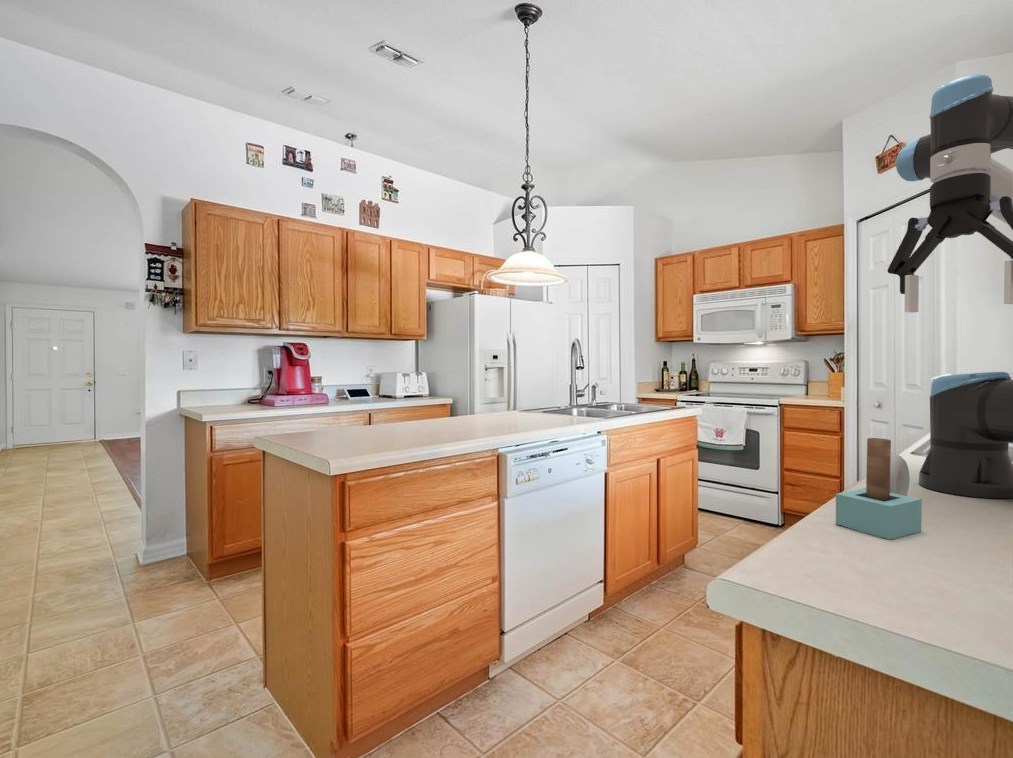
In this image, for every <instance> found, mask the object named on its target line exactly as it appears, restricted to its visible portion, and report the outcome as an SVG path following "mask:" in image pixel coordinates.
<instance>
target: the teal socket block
mask: <svg viewBox="0 0 1013 758" xmlns="http://www.w3.org/2000/svg"><path fill="white" fill-rule="evenodd" d="M922 506H923V505H922V499H921V498H917V497H914V496H913V497H912V496H908V495H907V496H903V495H898V494H894V493H890V501H885V502H883V501H879V500H874V499H870V498H866V487H865V488H859V489H855V490H854V489H853V490H848V491H844V492H839V493H835V525H836V524H838V525H837V526H839V525H842V526H841V527H843V526H845V527H844V528H846V527H848V528H847V529H850V528H852V529H851V530H853V529H855V530H854V531H857V530H858V532H860V531H862V532H861V533H864V532H865V533H864V534H867V533H869V534H868V535H871V534H872V535H871V536H874V537H879V538H882V537H883V538H882V539H885V538H886V540H889V541H891V540H894V539H899V538H902V536H903V537H906V536H909V534H910V535H914V534H917V533H921V532H922ZM913 533H914V534H913ZM898 537H899V538H898Z"/></svg>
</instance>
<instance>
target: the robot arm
mask: <svg viewBox="0 0 1013 758" xmlns="http://www.w3.org/2000/svg"><path fill="white" fill-rule="evenodd" d="M992 81H993V80H992V79H991V77H990V76H989V75H987V74H981V73H980V74H979V73H978V74H971V75H967V76H962V77H958V78H956V79H953V80H951V81H949V82H947V83H946V84H943V85H941V86H940V87H939V88H937V89H936V90H935V92H934V93H933V95H932V97H931V105H930V106H931V107H930V114H929V120H930V133H929V134H928V135H924V136H921V137H920V138H918V139H916V140H914V141H912V142H910V143H908V144H906V145H905V146H904V147H903V148H901V150H900V151H899V152H898V154H897V157H896V160H895V168H896V171H897V174H898V175H899V177H900V179H903V180H904V181H906V182H917V181H923V180H925V179H929V181H930V183H932V184H931V186H929V207H930V211H929V215H928V216H927V217H911V218H909V219H908V221H907V229H906V232H905V235H904V236H903V238H902V241H901V242H900V244H899V246H898V248H897V250H896V252H895V254H894V256H893V258H892V260H891V262H890V264H889V266H888V269H887V270H886V271H887V274H891V275H897V276H899V293H900V294H901V295H904V313H919V298H920V297H919V285H920V284H919V282H920V281H919V280H920V279H919V277H920V276H919V275H918V274H915V273H916V272H917V270H918V269H919V268H920V267H921V266H922V264H924V262H925V261H926V260H927V259H928V258H929V256H930V255H931V254H932V253H933V252H934V250H935V249H937V247H938V246H939V244H941V243H943V242H944V241H945V240H946V238H947V239H955V238H958V237H960V236H971V235H974V234H975V233H979V234H980V235H981V236H983V237H984V238H985V239H987V240H988V241H989V242H991V243H992V245H995V247H997V248H998V249H1000V250H1001V251H1003V253H1005V254H1006V255H1007V256H1009V257H1010V259H1011V260H1005V261H1004V279H1003V281H1004V283H1003V285H1004V286H1003V287H1004V288H1003V293H1004V294H1003V304H1005V305H1013V240H1011V238H1009V237H1007V236H1006V235H1005V234H1004V233H1002V232H1001V231H999V230H998V229H997V228H996V227H995V226H994V225H993V224H991V223H990V222H989V221H987V219H988V218H990V216H993V217H995V218H996V219H998V220H999V221H1001V222H1003V223H1005V224H1007V225H1008V226H1009V227H1010V229H1011V230H1012V231H1013V170H1012V169H1011V168H1009V167H1007V166H1006V165H1003V164H1002V163H1001V162H999V161H998V160H996V159H994V158H992V154H994V153H996V152H997V153H998V152H1000V151H1002V150H1003V151H1004V150H1006V149H1009V150H1013V96H1012V95H1011V96H1010V95H1001V94H1000V95H999V94H993V91H994V87H993V82H992ZM928 225H929V227H931V229H930V230H929V232H928V233H927V234H926V235H925V236H924V240H923V241H922V242H921V243H920V245H919V246H918V247H917V249H916V250H915V248H916V246H917V244H918V242H919V240H920V238H921V237H922V234H923V231H924V230H925V229H927V226H928ZM914 250H915V251H914ZM929 421H930V422H929V427H930V428H929V431H930V432H929V433H930V434H929V436H930V441H929V443H930V444H929V447H930V448H929V449H928V452H927V454H926V457H925V458H924V459H925V460H924V462H923V464H922V465H921V469H920V471H919V472H918V473H919V474H918V484H919V485H920V486H921V487H924V488H926V489H929V490H933V491H938V492H941V493H946V494H952V495H959V496H966V497H973V498H986V499H987V498H988V499H1010V498H1013V462H1012V459H1011V457H1010V454H1009V453H1010V452H1009V444H1010V443H1011V444H1012V443H1013V379H1012V376H1010V373H1009V372H1006V371H989V372H988V371H987V372H986V371H985V372H976V373H974V372H972V373H960V374H952V375H951V374H950V375H944V376H938V377H936V378H934V380H933V381H932V383H931V387H930V395H929Z"/></svg>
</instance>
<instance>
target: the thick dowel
mask: <svg viewBox="0 0 1013 758" xmlns="http://www.w3.org/2000/svg"><path fill="white" fill-rule="evenodd" d="M866 441H867V442H866V449H867V450H866V481H865V483H866V485H865V488H866V498H870V499H874V500H879V501H883V502H885V501H890V461H891V454H892V452H891V451H892V450H891V449H892V440H891V439H889V438H882V437H881V438H878V437H868V438H867V439H866Z"/></svg>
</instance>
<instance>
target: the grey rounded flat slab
mask: <svg viewBox="0 0 1013 758" xmlns="http://www.w3.org/2000/svg"><path fill="white" fill-rule="evenodd" d="M909 487H910V469H909V465H908V463H907V461H906V460H905V459H904V458H903V457H902V456H901V455H900V454H896V453H891V461H890V493H894V494H898V495H903V496H908V494H909V493H908V492H909V489H910V488H909Z"/></svg>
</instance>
